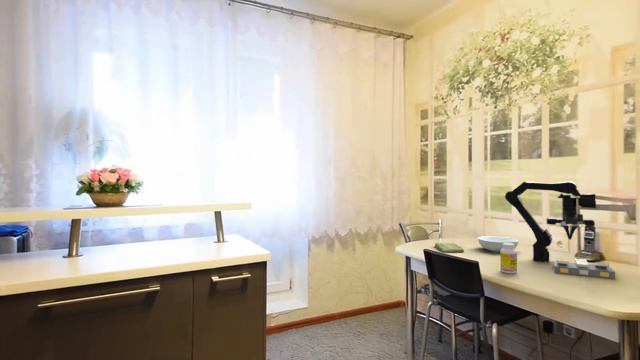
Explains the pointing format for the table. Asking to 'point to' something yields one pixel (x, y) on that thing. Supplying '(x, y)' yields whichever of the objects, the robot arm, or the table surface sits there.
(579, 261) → the rocker
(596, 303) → the table surface
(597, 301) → the table surface
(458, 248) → the washcloth
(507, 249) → the supplement bottle
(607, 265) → the block
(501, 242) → the serving bowl
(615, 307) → the table surface
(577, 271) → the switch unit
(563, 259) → the rocker
